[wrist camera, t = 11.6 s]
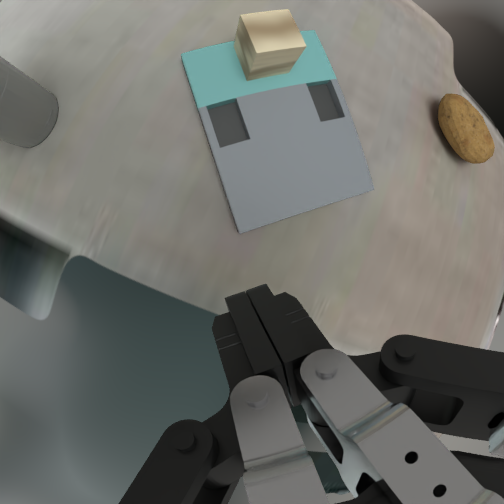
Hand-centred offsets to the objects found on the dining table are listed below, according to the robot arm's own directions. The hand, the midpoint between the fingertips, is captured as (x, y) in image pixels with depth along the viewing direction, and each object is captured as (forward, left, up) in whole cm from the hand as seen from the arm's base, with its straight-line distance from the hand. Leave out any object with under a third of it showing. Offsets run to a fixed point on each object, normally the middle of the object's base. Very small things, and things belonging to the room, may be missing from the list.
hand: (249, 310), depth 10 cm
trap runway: (0, +18, -29) cm, 34 cm away
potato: (+28, +36, -29) cm, 54 cm away
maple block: (-6, +24, -27) cm, 37 cm away
